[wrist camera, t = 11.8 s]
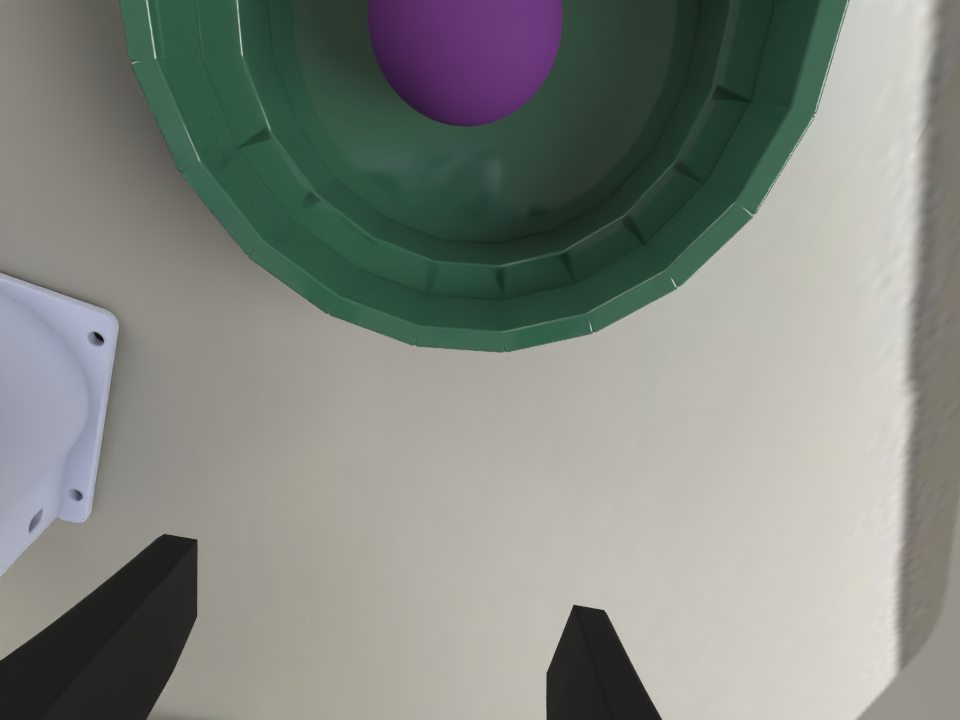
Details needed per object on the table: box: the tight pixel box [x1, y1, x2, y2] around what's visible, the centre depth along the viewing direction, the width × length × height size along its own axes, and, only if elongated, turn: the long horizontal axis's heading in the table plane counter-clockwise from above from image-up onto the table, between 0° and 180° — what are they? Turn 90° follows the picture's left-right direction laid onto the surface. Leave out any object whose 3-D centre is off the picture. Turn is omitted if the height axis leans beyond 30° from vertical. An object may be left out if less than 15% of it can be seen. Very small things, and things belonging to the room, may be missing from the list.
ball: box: [368, 0, 562, 127], centre depth 14 cm, size 4×4×4 cm
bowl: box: [119, 0, 850, 352], centre depth 14 cm, size 14×14×5 cm
